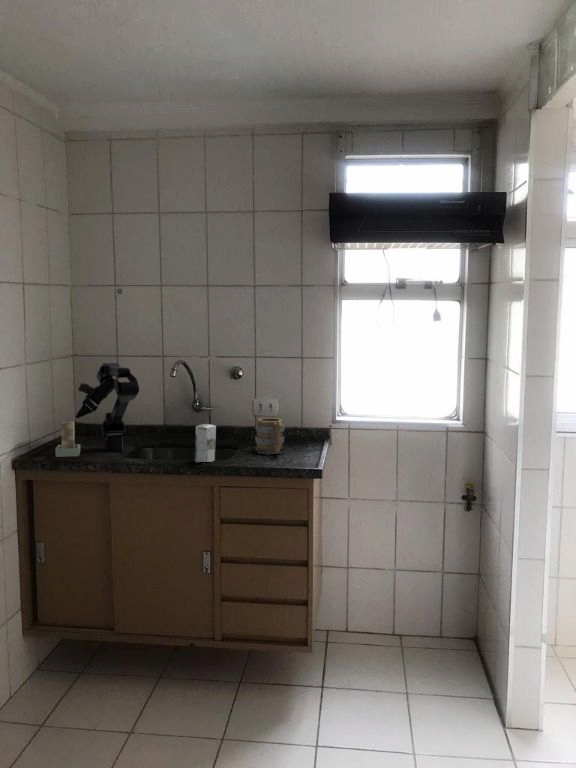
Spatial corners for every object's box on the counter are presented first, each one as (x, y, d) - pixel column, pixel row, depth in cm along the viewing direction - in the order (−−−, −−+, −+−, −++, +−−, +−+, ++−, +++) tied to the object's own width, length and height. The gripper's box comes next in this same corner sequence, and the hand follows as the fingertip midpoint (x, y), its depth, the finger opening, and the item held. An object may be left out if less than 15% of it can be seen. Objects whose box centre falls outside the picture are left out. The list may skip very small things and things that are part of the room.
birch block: (74, 452, 266) (74, 421, 265) (73, 455, 262) (73, 423, 260) (63, 453, 265) (62, 421, 264) (61, 455, 261) (61, 423, 259)
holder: (80, 451, 269) (80, 444, 268) (78, 456, 260) (78, 448, 260) (58, 452, 267) (58, 444, 266) (55, 456, 258) (55, 449, 258)
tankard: (251, 449, 281) (251, 415, 279) (279, 448, 285) (279, 414, 283) (264, 459, 262) (264, 423, 260) (293, 458, 266) (294, 422, 264)
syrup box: (203, 459, 260) (204, 423, 258) (215, 461, 257) (216, 425, 255) (194, 462, 255) (195, 425, 254) (206, 464, 252) (207, 427, 251)
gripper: (91, 374, 283) (64, 399, 282) (88, 378, 265) (60, 405, 264) (110, 392, 286) (84, 417, 285) (108, 397, 268) (81, 424, 267)
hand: (77, 415), depth 275 cm, fingers open, 9 cm apart
